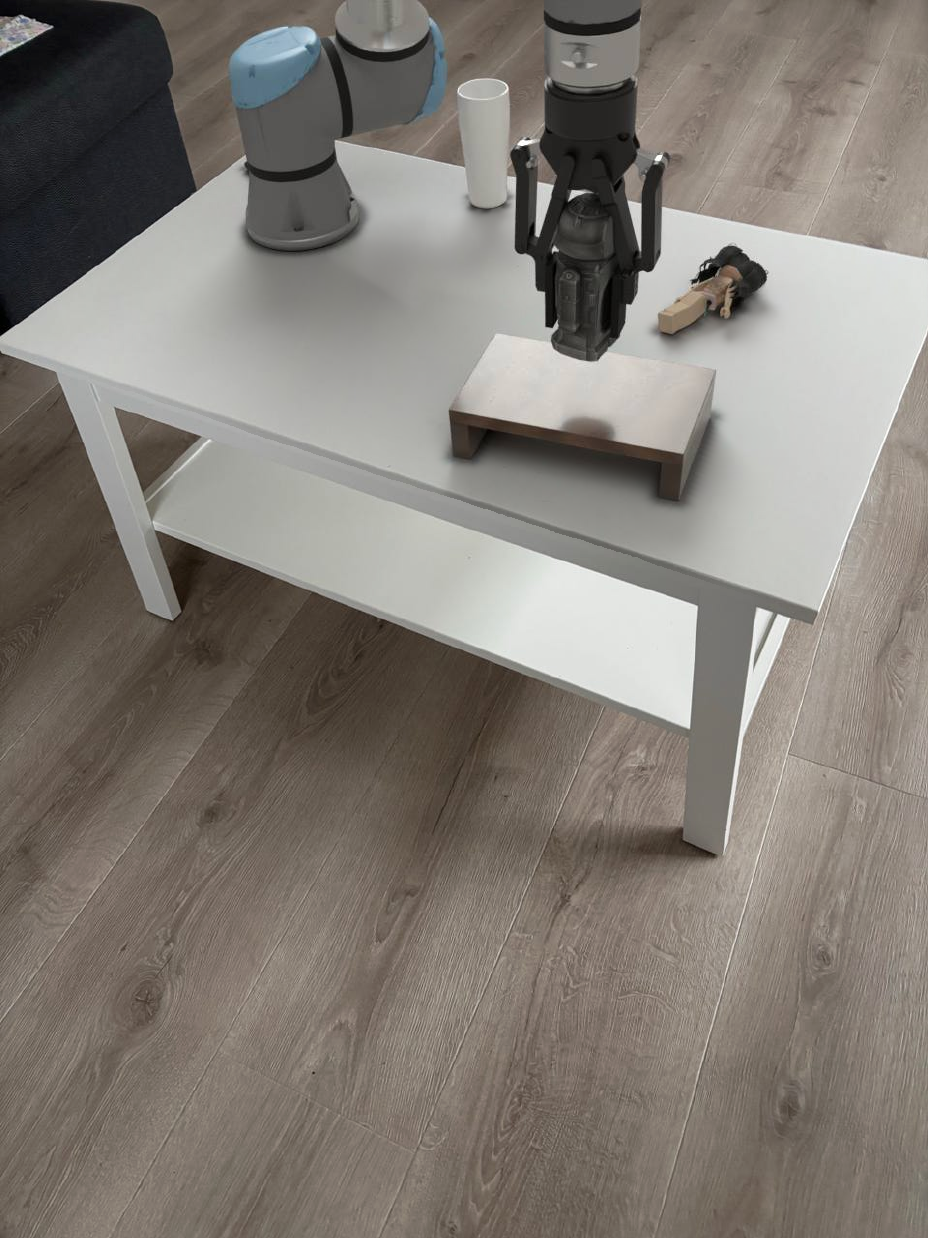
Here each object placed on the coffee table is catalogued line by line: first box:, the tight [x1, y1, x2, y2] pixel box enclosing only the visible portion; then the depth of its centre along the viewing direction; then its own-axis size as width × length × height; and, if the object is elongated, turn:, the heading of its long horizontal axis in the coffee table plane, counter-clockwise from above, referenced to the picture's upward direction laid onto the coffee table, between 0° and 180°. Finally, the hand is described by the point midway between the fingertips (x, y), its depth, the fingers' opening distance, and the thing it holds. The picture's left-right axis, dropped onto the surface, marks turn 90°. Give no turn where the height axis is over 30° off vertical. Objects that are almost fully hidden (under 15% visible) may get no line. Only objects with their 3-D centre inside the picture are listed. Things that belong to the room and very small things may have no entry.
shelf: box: [448, 332, 717, 502], centre depth 112 cm, size 24×14×6 cm, turn 69°
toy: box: [550, 192, 621, 362], centre depth 100 cm, size 8×6×15 cm
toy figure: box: [657, 242, 770, 335], centre depth 127 cm, size 7×6×15 cm
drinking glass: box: [456, 77, 511, 209], centre depth 144 cm, size 7×7×15 cm
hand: (585, 324), depth 104 cm, fingers closed on toy, 6 cm apart
